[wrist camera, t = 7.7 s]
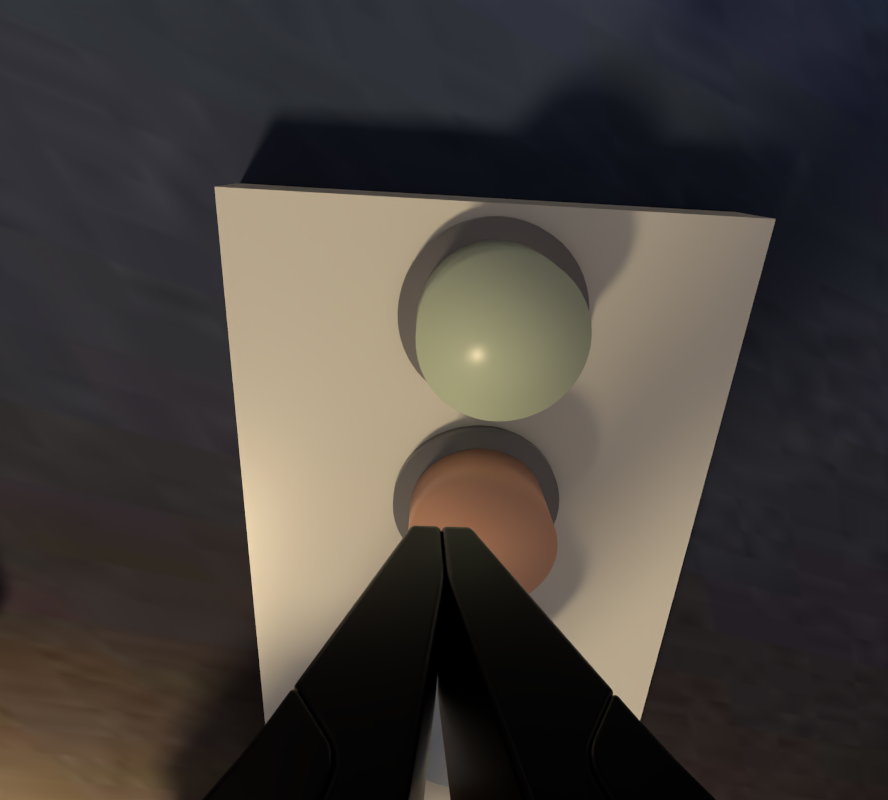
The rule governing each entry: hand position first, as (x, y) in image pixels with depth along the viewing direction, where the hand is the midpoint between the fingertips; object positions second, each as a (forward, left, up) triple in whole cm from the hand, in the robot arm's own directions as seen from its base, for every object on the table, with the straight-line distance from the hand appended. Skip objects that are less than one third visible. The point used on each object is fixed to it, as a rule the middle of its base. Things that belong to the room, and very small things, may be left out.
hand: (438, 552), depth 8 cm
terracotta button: (-4, -2, -8) cm, 9 cm away
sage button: (+1, -2, -8) cm, 8 cm away
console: (-7, -2, -10) cm, 13 cm away
